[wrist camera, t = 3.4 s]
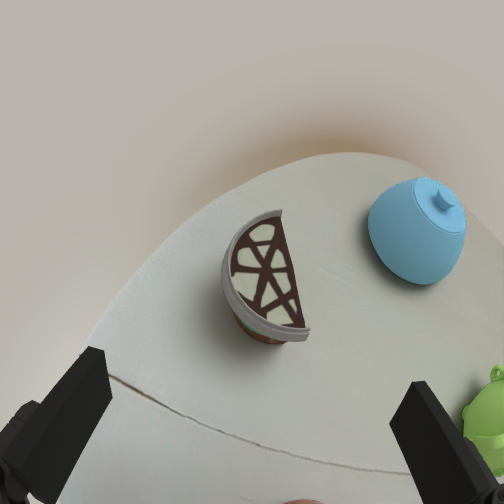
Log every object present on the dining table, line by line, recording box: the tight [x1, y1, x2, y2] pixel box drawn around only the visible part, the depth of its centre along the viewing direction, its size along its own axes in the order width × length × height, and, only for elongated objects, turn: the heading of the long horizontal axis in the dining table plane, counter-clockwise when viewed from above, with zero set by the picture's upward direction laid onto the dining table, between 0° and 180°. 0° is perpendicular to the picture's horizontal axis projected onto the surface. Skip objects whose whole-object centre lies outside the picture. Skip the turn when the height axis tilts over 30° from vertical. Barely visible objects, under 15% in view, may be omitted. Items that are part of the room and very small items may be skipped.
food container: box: [221, 209, 311, 344], centre depth 28 cm, size 12×6×10 cm, turn 8°
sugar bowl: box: [368, 178, 466, 284], centre depth 34 cm, size 15×15×12 cm
